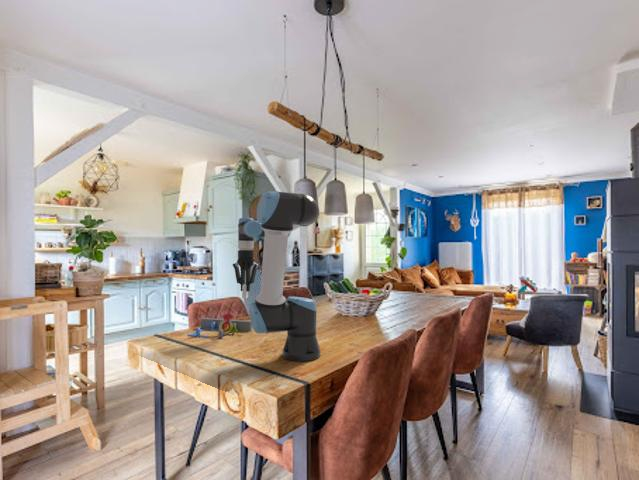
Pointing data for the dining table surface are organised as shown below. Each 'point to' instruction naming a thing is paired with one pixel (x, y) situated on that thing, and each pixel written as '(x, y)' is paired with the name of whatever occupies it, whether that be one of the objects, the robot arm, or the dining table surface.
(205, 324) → the duct rack
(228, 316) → the bird rattle
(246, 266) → the robot arm
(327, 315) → the dining table surface
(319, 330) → the dining table surface
